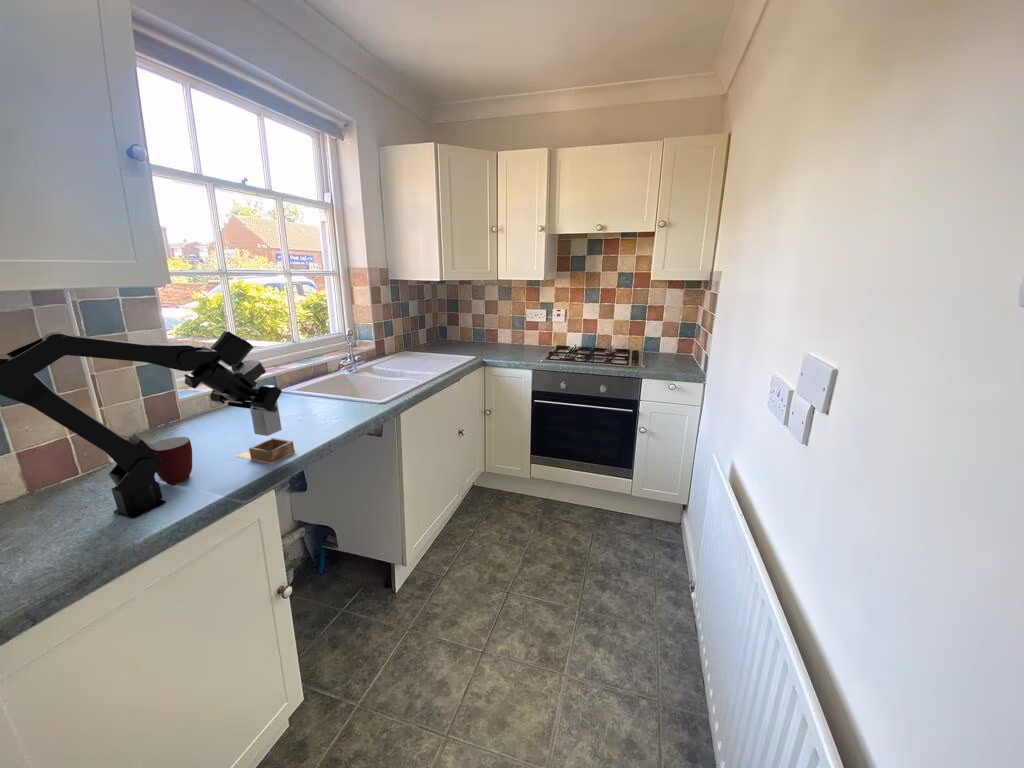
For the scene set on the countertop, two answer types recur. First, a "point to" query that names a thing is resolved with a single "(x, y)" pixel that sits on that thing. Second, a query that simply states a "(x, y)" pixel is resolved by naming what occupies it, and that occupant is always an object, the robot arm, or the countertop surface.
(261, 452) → the stand
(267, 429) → the post
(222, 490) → the countertop surface
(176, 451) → the mug
